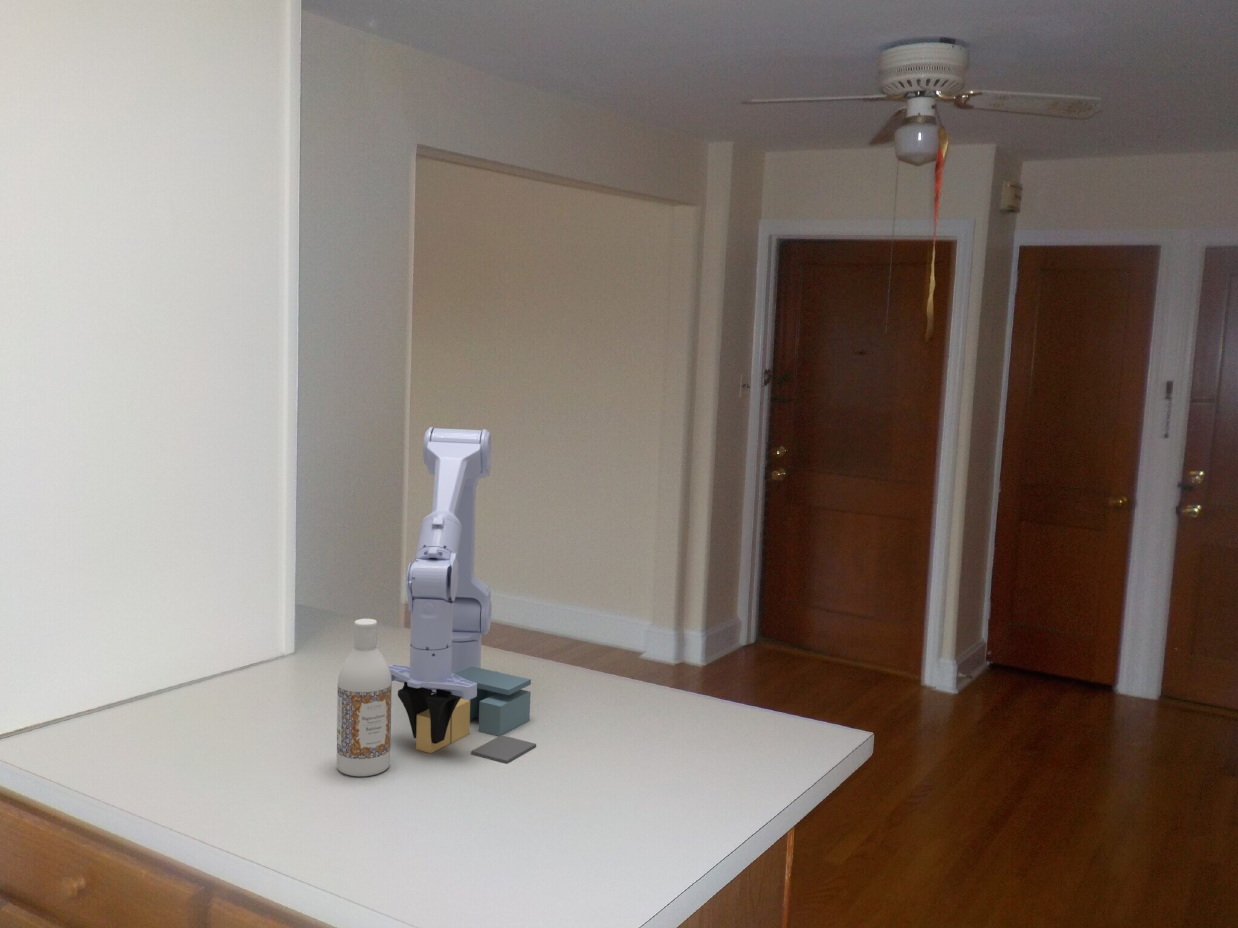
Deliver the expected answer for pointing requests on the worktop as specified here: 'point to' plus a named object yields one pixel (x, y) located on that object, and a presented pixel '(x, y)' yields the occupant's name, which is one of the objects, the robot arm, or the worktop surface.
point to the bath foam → (364, 706)
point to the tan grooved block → (455, 728)
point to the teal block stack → (498, 700)
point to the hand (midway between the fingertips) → (428, 738)
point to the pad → (503, 749)
